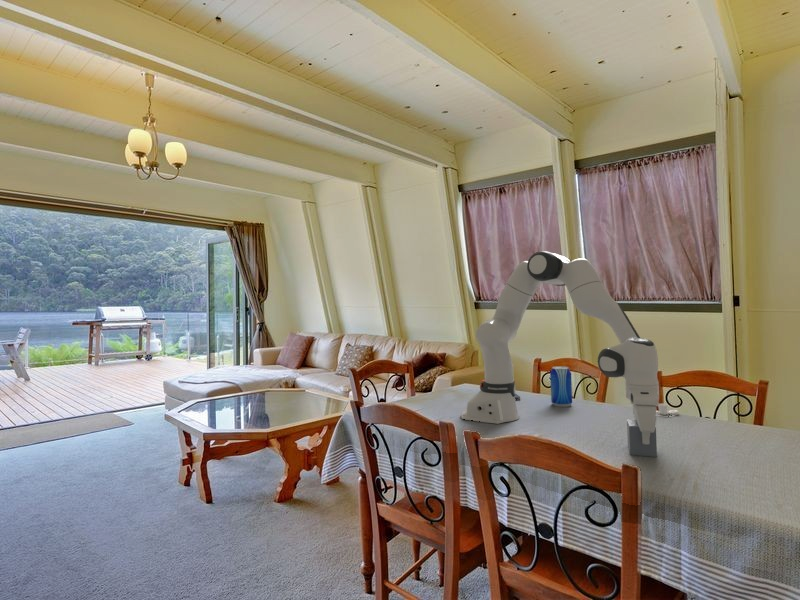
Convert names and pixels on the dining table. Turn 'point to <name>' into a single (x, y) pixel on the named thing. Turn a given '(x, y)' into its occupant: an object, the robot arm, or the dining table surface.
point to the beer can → (561, 386)
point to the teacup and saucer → (664, 408)
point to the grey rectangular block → (640, 441)
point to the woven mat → (517, 397)
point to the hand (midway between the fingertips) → (643, 438)
